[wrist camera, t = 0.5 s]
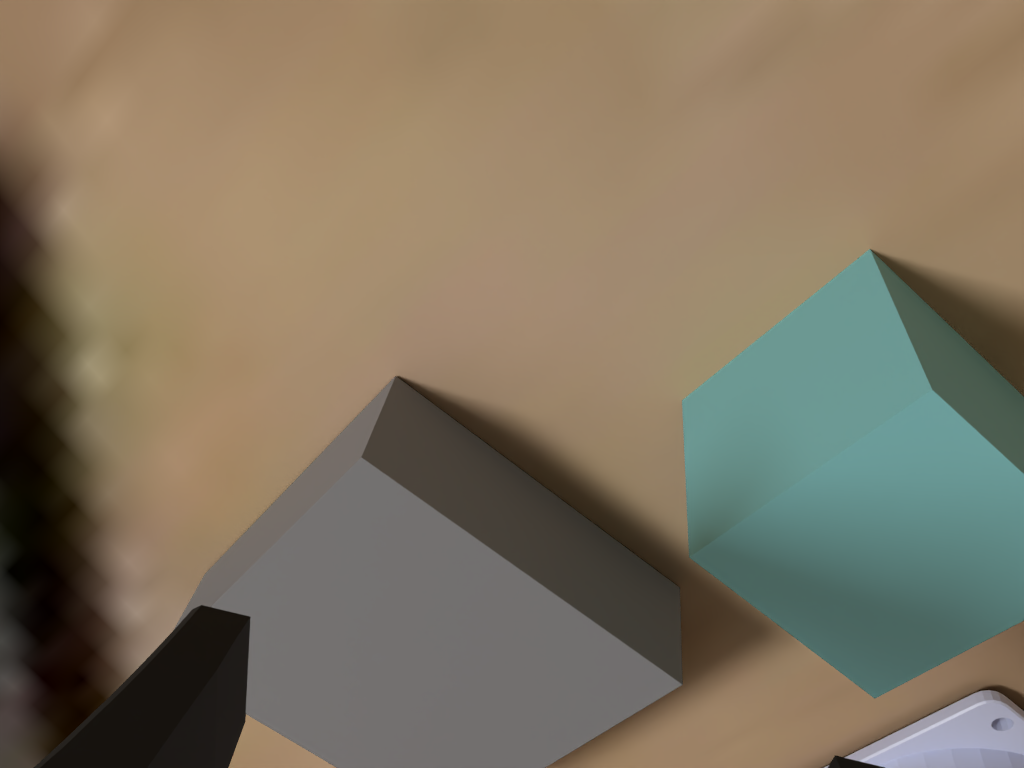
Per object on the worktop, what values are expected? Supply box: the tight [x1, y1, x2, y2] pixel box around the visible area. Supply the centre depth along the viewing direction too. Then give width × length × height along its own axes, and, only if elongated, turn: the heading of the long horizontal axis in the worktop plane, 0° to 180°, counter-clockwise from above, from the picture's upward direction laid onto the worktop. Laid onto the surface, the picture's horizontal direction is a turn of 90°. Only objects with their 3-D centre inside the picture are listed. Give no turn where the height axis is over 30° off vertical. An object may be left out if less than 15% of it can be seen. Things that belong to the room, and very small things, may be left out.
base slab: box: [173, 376, 683, 768], centre depth 23 cm, size 9×9×3 cm
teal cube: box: [682, 249, 1024, 698], centre depth 18 cm, size 5×5×5 cm
